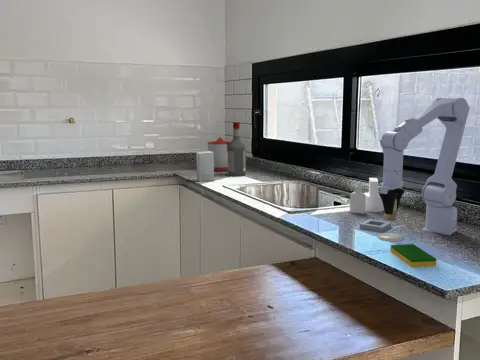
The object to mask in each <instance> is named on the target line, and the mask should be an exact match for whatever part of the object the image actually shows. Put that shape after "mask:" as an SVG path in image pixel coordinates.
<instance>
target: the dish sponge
mask: <svg viewBox="0 0 480 360" xmlns="http://www.w3.org/2000/svg"><path fill="white" fill-rule="evenodd" d="M390 253H392V255H394V256H395V257H396V258H398V259H400V260H401V261H403V262H404V263H405V264H406V265H407V266H409V267H411V268H419V267H420V268H421V266H424V267H435V266H437V258H436V257H435V256H433V255H431V254H429V253H428V252H427V251H425V250H424V249H422V248H421V247H419V246H417V245H416V244H414V243H409V244H405V243H404V244H391V245H390Z"/></svg>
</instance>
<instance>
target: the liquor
mask: <svg viewBox="0 0 480 360" xmlns="http://www.w3.org/2000/svg"><path fill="white" fill-rule="evenodd" d="M232 129H233V137H232V140H231V141H230V142H231V143H230V144H229V145H228V170H227V175H228V176H230V177H233V178H235V177H237V178H239V177H245V176H246V175H247V174H246V173H247V171H246V169H247V166H246V164H247V163H246V162H247V159H246V152H247V151H246V145H245V144H244V143H243V141H242V140H241V138H240V121H233V123H232Z"/></svg>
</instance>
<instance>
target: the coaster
mask: <svg viewBox="0 0 480 360" xmlns="http://www.w3.org/2000/svg"><path fill="white" fill-rule="evenodd" d="M376 238H377V239H378V240H381V241H385V242H400V241H403V240H404V236H402V235H401V234H398V233H393V232H392V233H390V232H389V233H379V234H377V235H376Z"/></svg>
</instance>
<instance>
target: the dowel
mask: <svg viewBox="0 0 480 360" xmlns="http://www.w3.org/2000/svg"><path fill="white" fill-rule="evenodd" d="M396 210H397V199H396V200H395V203H394V209H393V213H392V215H390V214H385V212H384V211H383V212H384V214H383V219H384V221H388V222H391V221H396V220H397V212H396ZM397 211H398V210H397Z"/></svg>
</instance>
